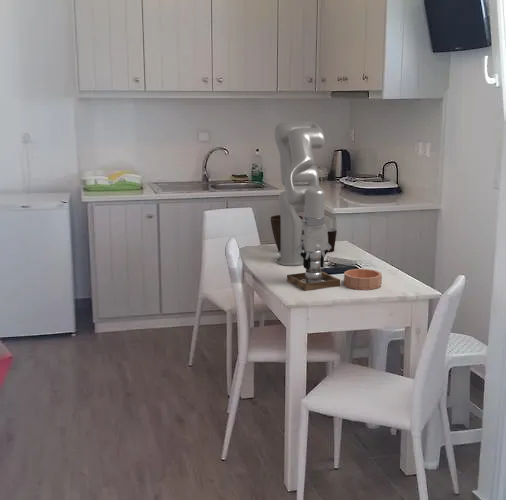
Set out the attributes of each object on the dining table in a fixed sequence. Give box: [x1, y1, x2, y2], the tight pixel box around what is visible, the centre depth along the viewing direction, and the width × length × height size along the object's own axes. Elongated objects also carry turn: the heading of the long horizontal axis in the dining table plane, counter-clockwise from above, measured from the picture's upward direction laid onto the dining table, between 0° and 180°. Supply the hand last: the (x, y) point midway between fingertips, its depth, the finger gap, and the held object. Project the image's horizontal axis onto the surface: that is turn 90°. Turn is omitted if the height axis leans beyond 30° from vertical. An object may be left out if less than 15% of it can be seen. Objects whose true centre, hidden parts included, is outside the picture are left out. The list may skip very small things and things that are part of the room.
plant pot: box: [270, 214, 304, 253], centre depth 322 cm, size 15×15×16 cm
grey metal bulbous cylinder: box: [304, 245, 323, 283], centre depth 269 cm, size 6×7×20 cm
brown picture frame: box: [286, 270, 341, 292], centre depth 271 cm, size 15×15×2 cm
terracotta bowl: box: [343, 268, 383, 291], centre depth 268 cm, size 14×14×4 cm
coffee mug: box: [327, 227, 338, 253], centre depth 325 cm, size 12×9×10 cm
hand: (313, 267), depth 269 cm, fingers closed on grey metal bulbous cylinder, 5 cm apart
